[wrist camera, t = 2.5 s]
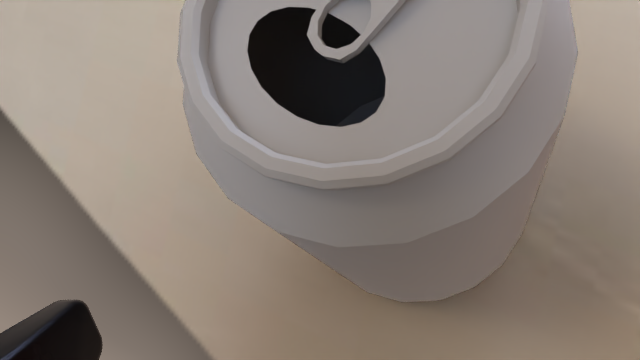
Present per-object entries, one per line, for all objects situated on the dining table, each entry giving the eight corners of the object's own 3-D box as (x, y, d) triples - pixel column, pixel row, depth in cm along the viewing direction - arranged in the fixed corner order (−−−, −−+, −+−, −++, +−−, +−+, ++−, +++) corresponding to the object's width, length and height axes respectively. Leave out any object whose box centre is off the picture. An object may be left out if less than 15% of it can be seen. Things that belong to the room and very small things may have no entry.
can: (272, 209, 22) (60, 46, 11) (406, 63, 22) (336, -240, 11) (425, 354, 19) (355, 338, 8) (576, 184, 19) (714, -62, 8)
